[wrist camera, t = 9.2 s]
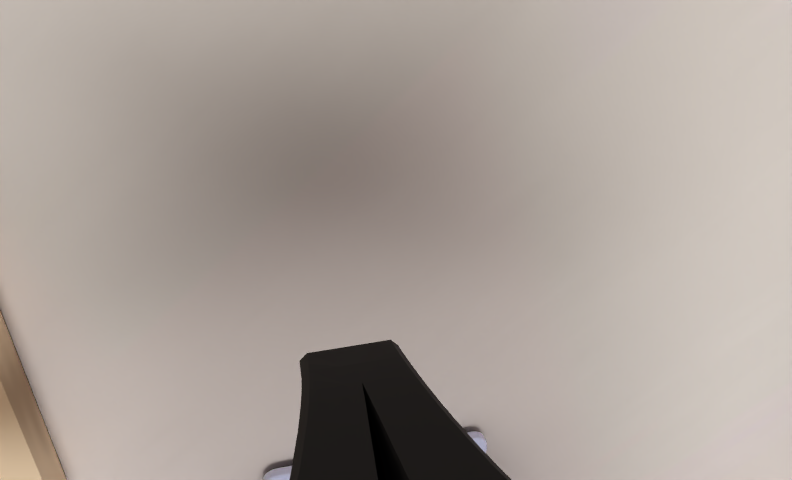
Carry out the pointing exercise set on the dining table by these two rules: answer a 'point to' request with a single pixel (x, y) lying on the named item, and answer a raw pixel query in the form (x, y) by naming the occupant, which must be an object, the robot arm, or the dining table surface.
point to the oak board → (22, 423)
